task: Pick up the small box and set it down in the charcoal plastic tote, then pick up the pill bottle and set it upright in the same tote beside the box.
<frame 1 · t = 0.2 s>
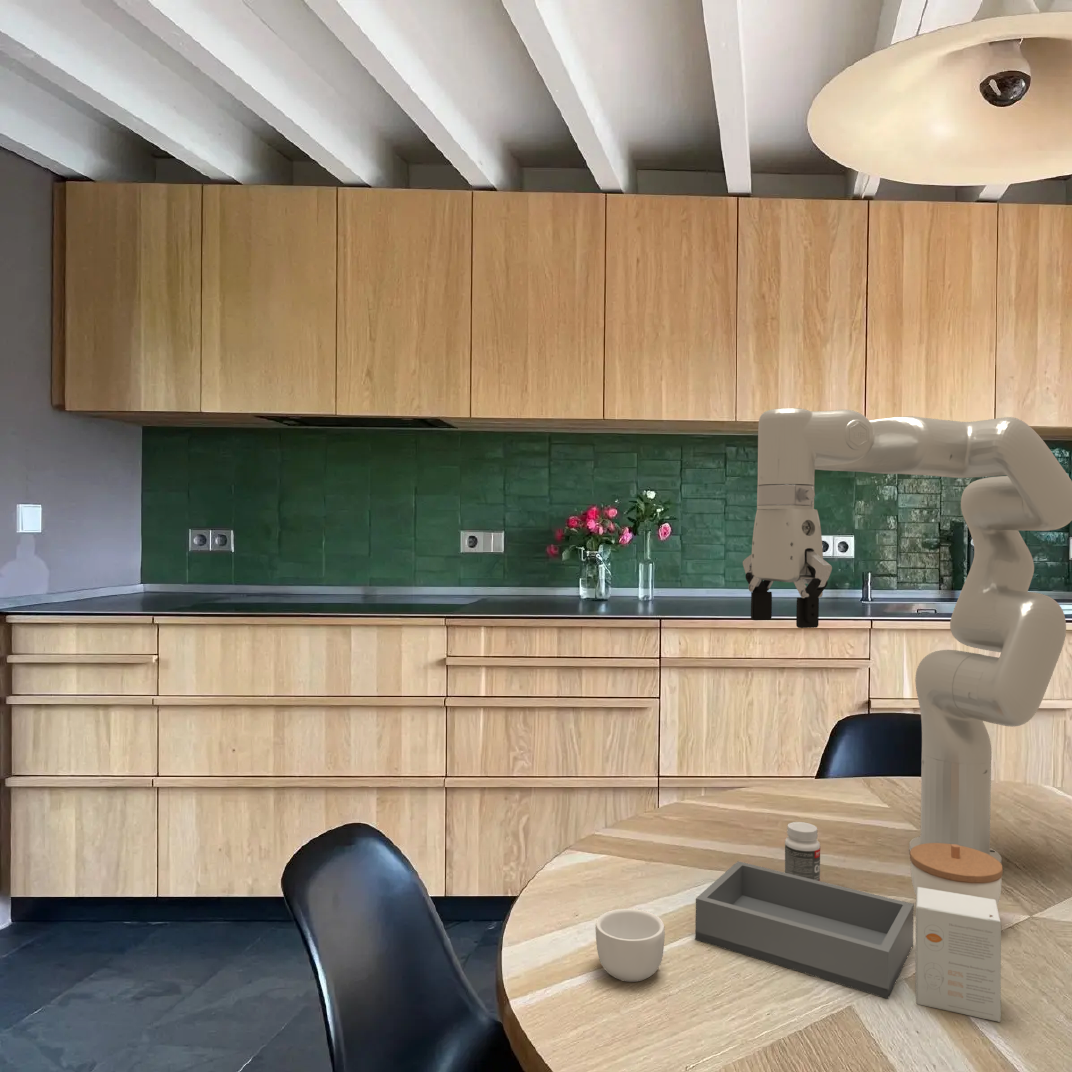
hand: (783, 623, 115), 37 cm above the table, tool pointing down, fingers open, 9 cm apart
small box: (955, 1002, 89), on the table
pill bottle: (802, 887, 117), on the table
tote: (803, 942, 101), on the table
lidded jar: (954, 919, 108), on the table
teacup: (634, 969, 95), on the table
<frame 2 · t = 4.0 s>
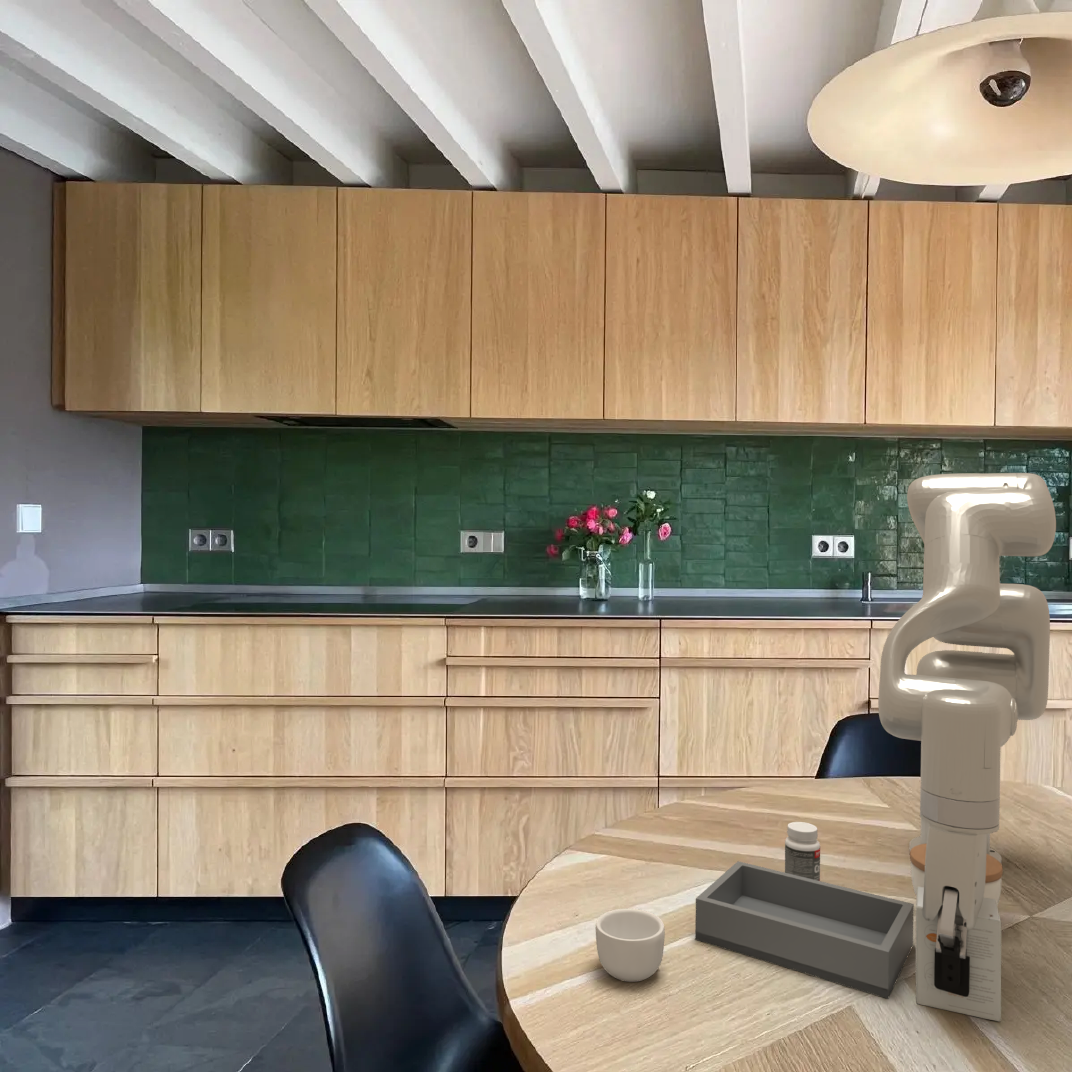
hand: (956, 975, 88), 3 cm above the table, tool pointing down, fingers closed on small box, 6 cm apart
small box: (956, 1002, 89), on the table, touching gripper
everything else where it was.
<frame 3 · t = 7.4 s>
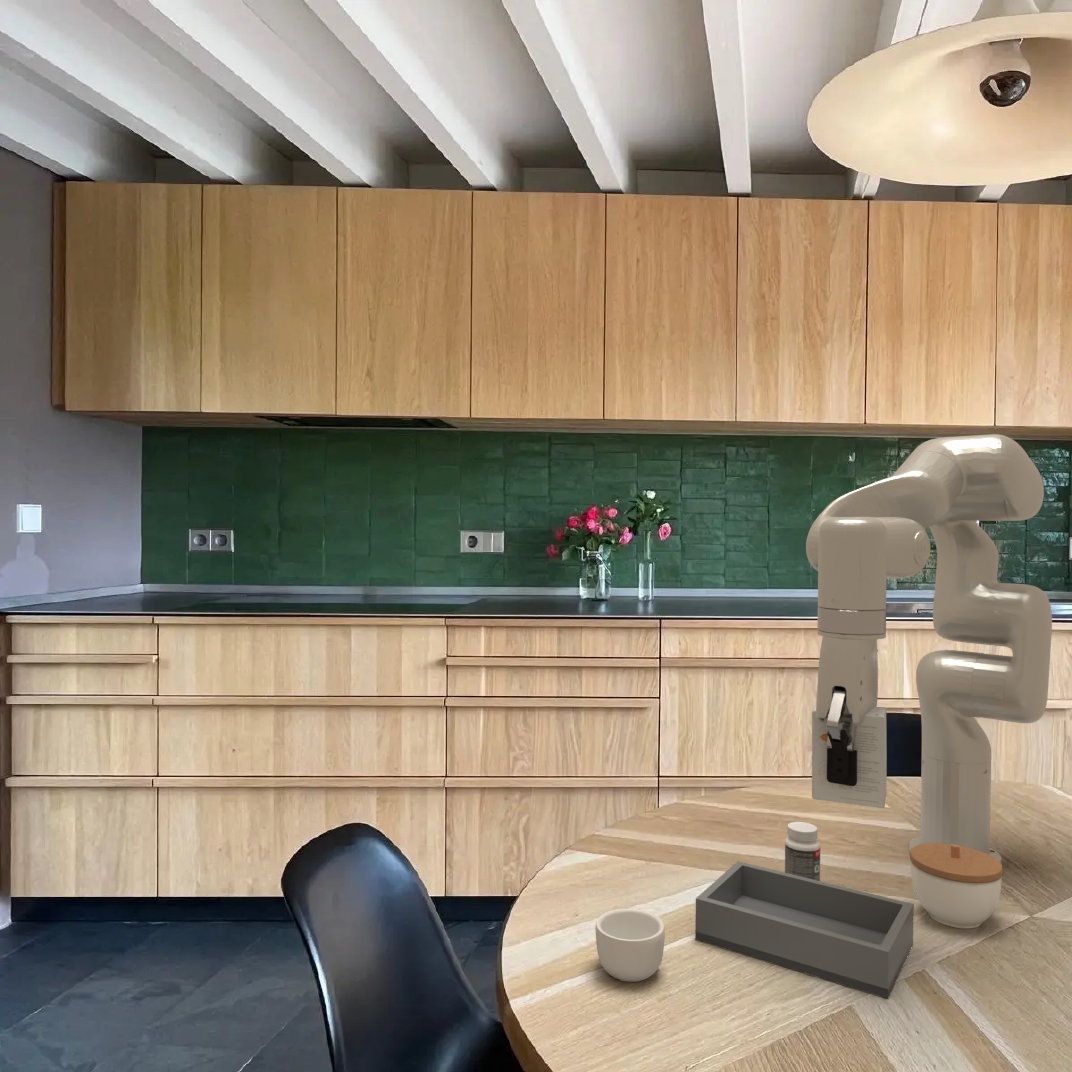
hand: (849, 774, 98), 21 cm above the table, tool pointing down, fingers closed on small box, 6 cm apart
small box: (849, 799, 98), point 18 cm above the table, touching gripper
everything else where it was.
when the fingers open (5 cm above the table, at t = 10.7 s): small box drops 2 cm, resting on tote.
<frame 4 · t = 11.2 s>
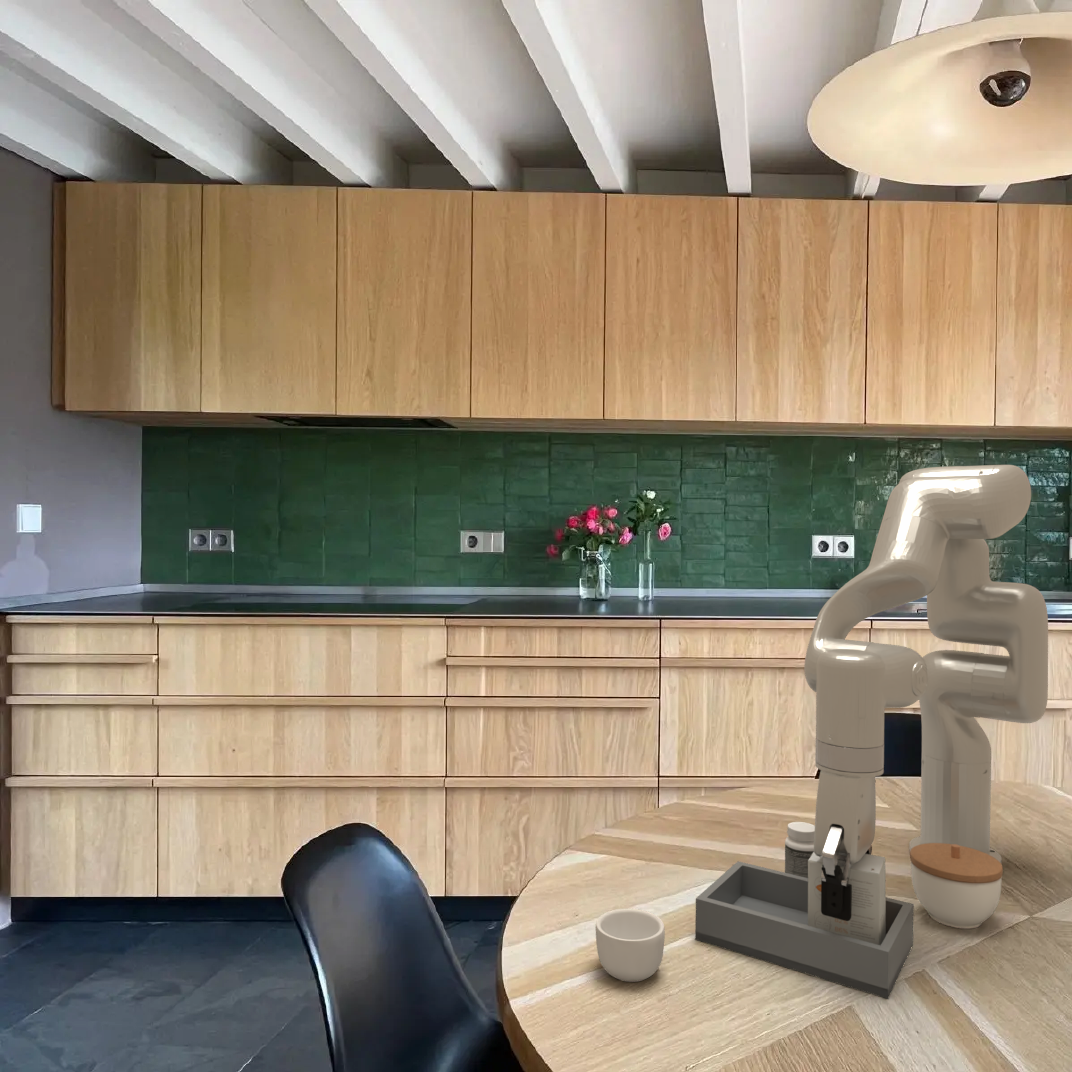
hand: (847, 901, 98), 6 cm above the table, tool pointing down, fingers open, 9 cm apart
small box: (846, 948, 98), point 1 cm above the table, touching tote
everything else where it was.
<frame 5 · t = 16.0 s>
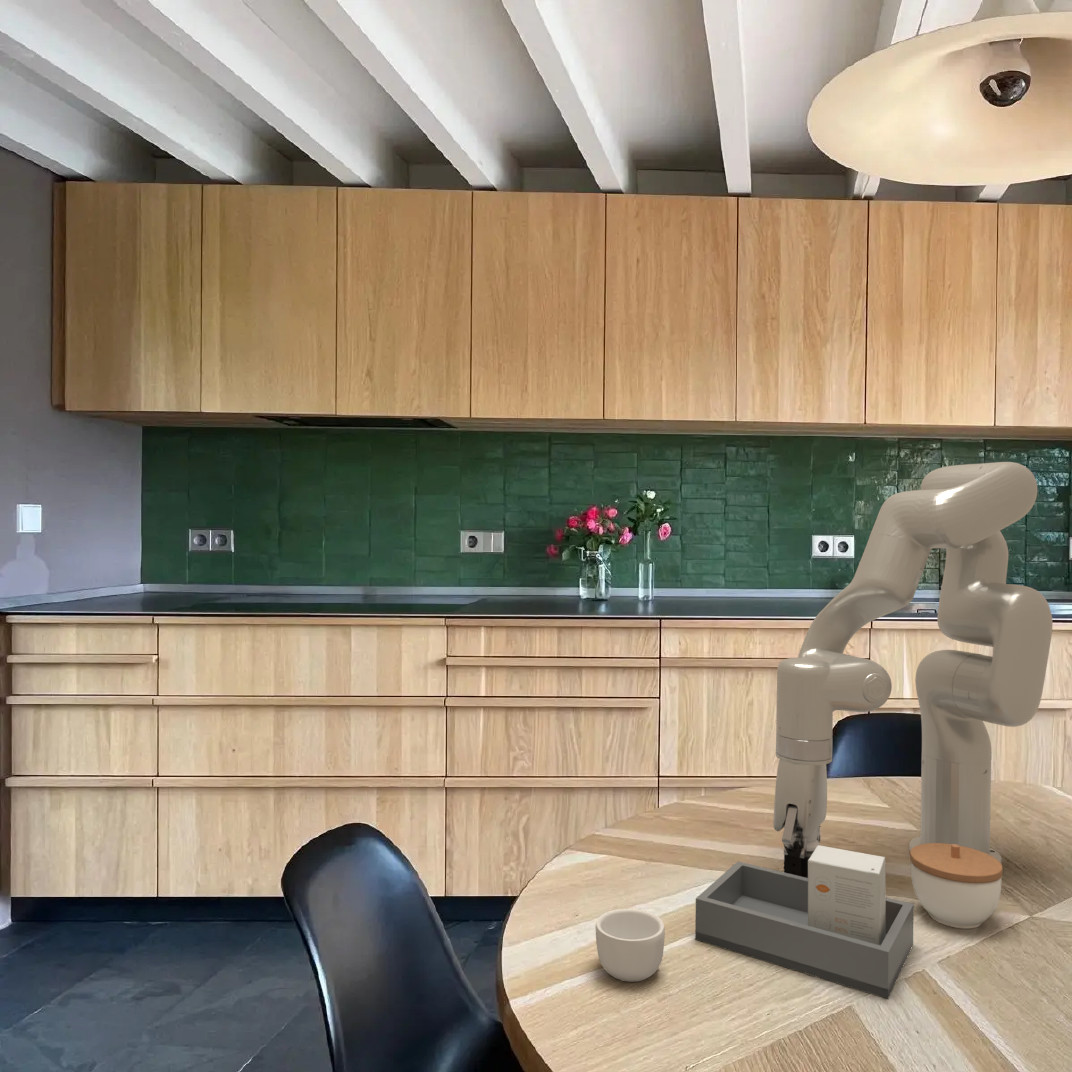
hand: (802, 875, 117), 1 cm above the table, tool pointing down, fingers closed on pill bottle, 4 cm apart
pill bottle: (801, 887, 117), on the table, touching gripper
everything else where it was.
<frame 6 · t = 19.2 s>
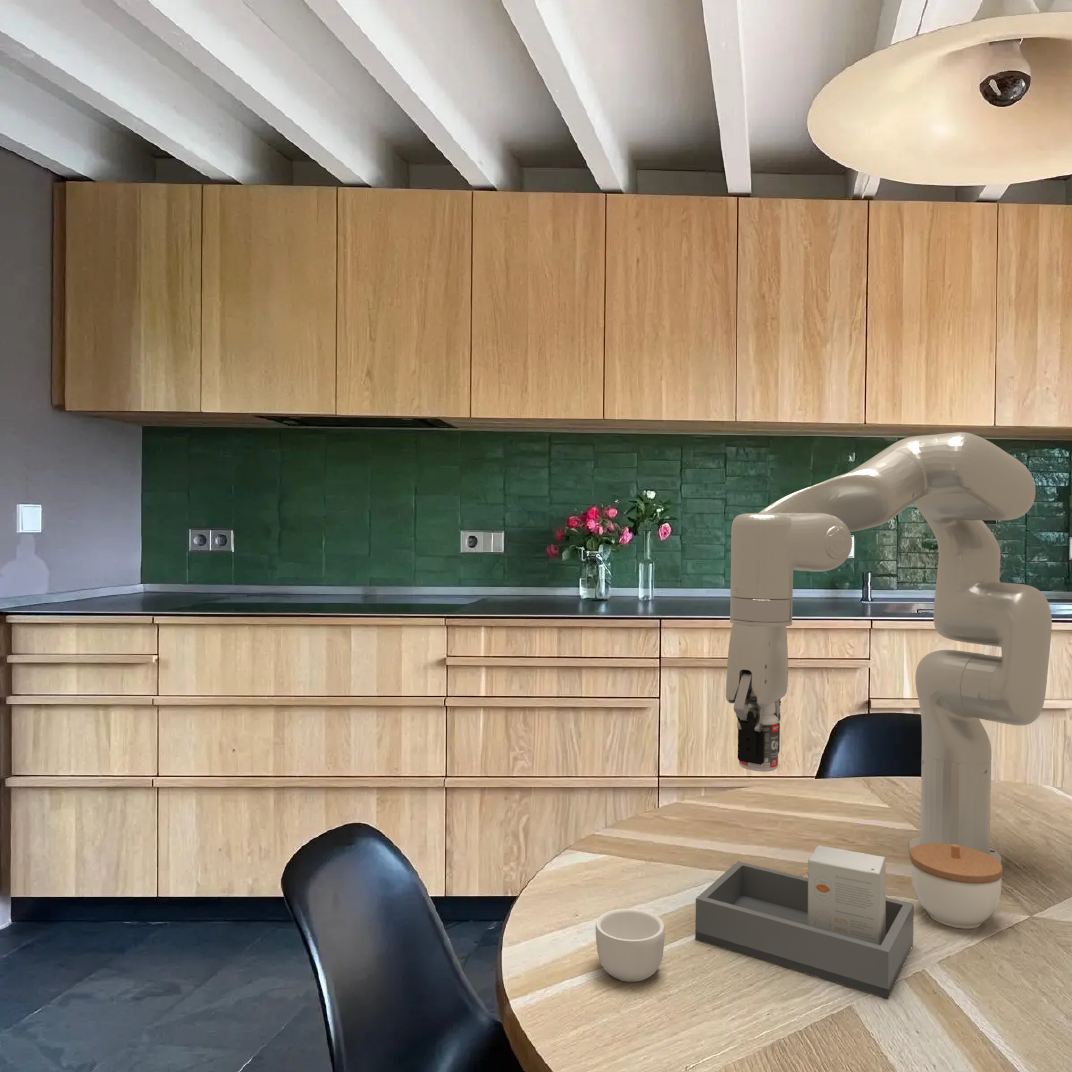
hand: (758, 755, 104), 22 cm above the table, tool pointing down, fingers closed on pill bottle, 4 cm apart
pill bottle: (758, 768, 104), point 20 cm above the table, touching gripper
everything else where it was.
when the fingers open (4 cm above the table, at t = 22.9 s): pill bottle drops 2 cm, resting on tote.
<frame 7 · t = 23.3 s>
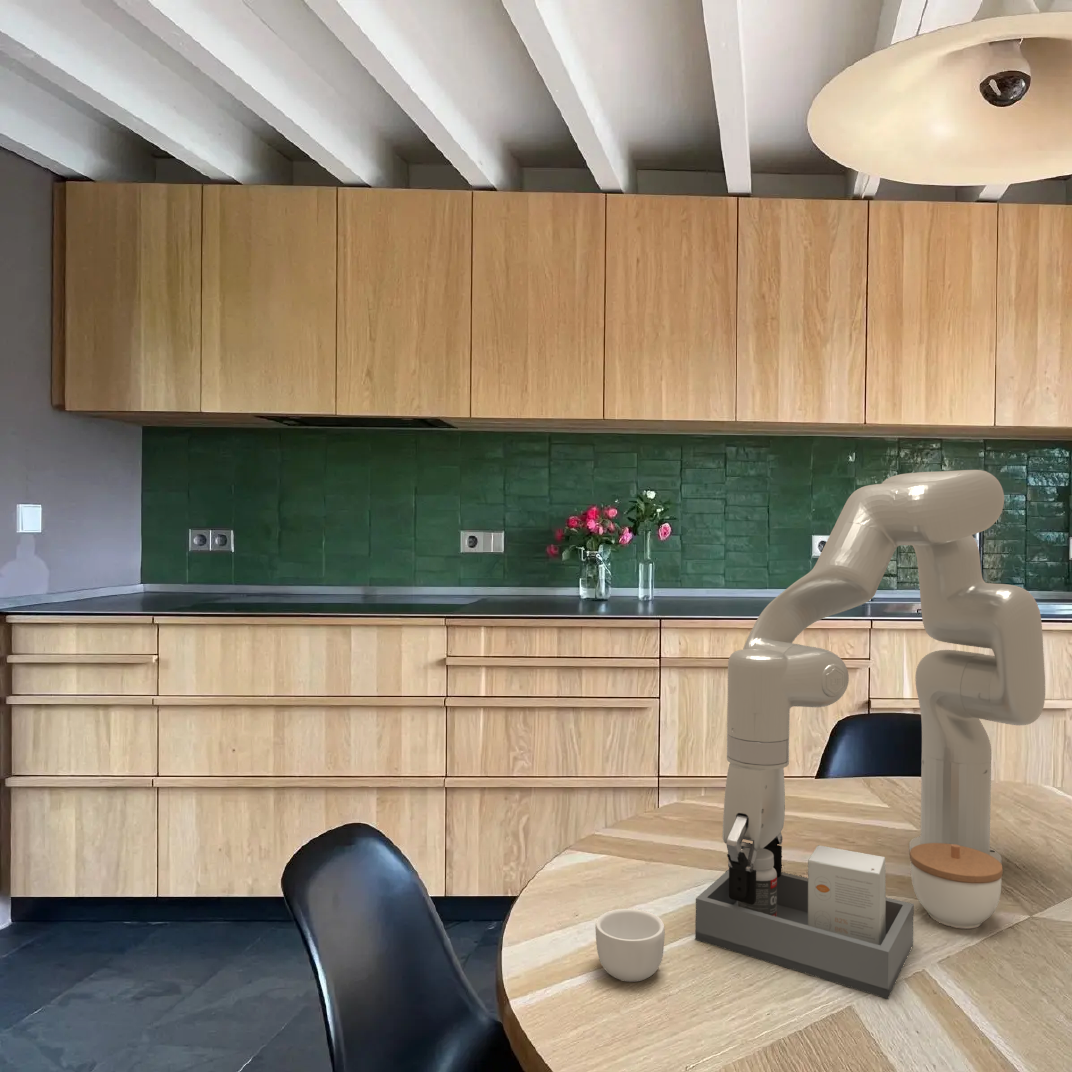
hand: (755, 887, 104), 5 cm above the table, tool pointing down, fingers open, 9 cm apart
pill bottle: (757, 921, 104), point 1 cm above the table, touching tote
everything else where it was.
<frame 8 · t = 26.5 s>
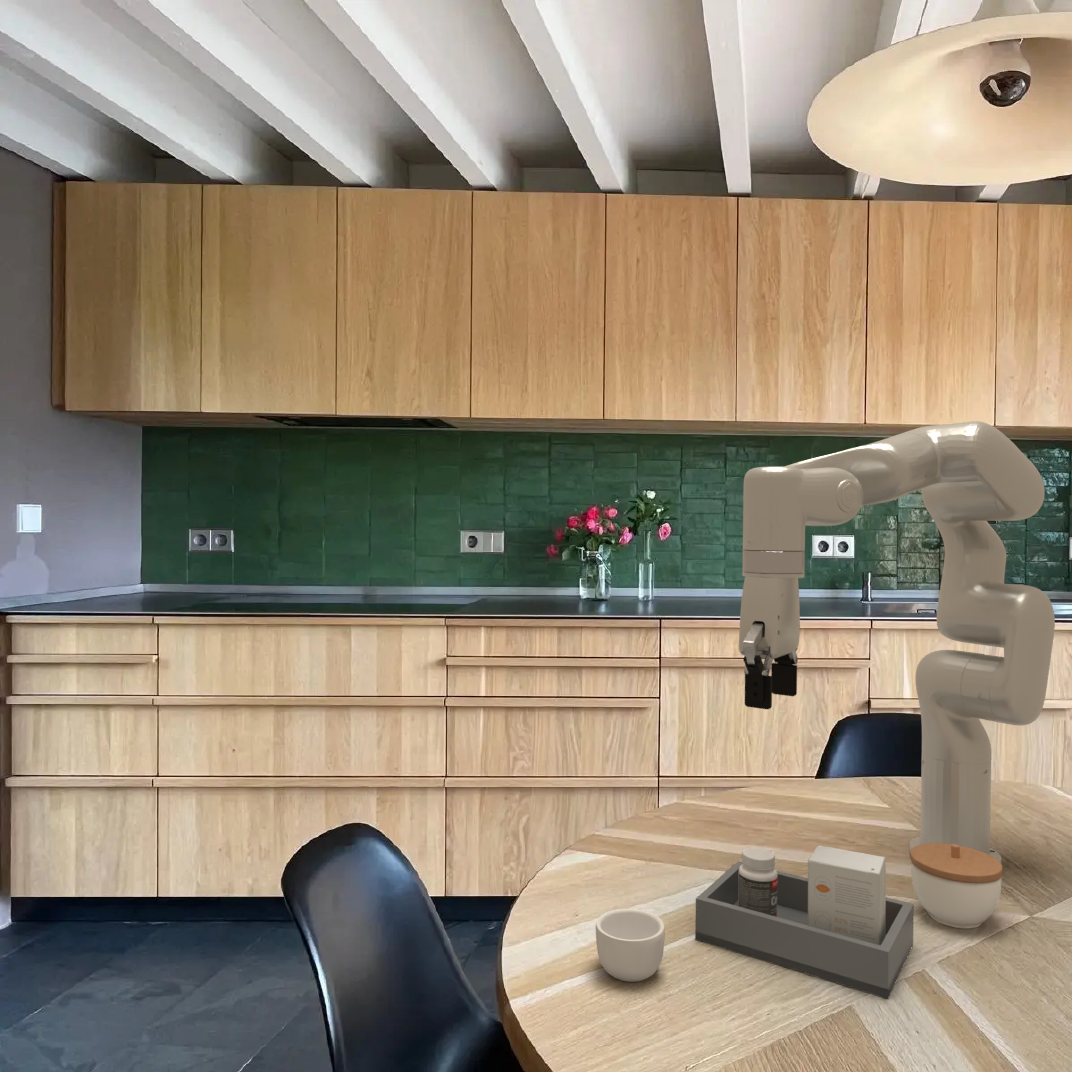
hand: (771, 700, 105), 28 cm above the table, tool pointing down, fingers open, 9 cm apart
nothing on the table moved.
at the end: small box inside the target area on the tote (5.0 cm from its centre), point 0.8 cm above the tote's base; pill bottle inside the target area on the tote (5.9 cm from its centre), point 0.8 cm above the tote's base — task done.
